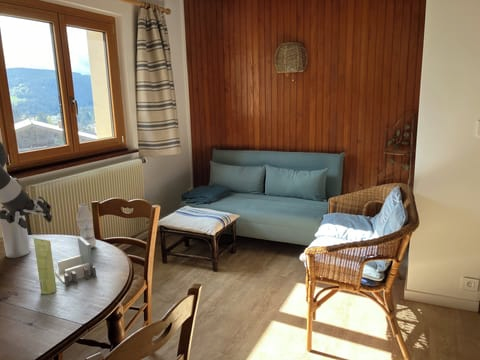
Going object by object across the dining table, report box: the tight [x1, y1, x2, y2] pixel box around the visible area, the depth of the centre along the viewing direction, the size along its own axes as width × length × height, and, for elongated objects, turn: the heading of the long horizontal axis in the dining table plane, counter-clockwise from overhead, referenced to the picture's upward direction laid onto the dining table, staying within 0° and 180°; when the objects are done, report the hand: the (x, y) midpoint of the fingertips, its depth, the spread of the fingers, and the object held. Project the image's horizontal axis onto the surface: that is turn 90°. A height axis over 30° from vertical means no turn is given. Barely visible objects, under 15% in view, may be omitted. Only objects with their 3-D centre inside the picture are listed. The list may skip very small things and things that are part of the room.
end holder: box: [54, 236, 94, 285], centre depth 149 cm, size 11×11×12 cm
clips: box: [63, 264, 97, 287], centre depth 144 cm, size 2×11×4 cm, turn 129°
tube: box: [33, 237, 57, 295], centre depth 135 cm, size 6×5×20 cm
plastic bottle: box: [76, 203, 97, 249], centre depth 171 cm, size 6×7×20 cm
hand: (38, 223), depth 133 cm, fingers open, 8 cm apart
